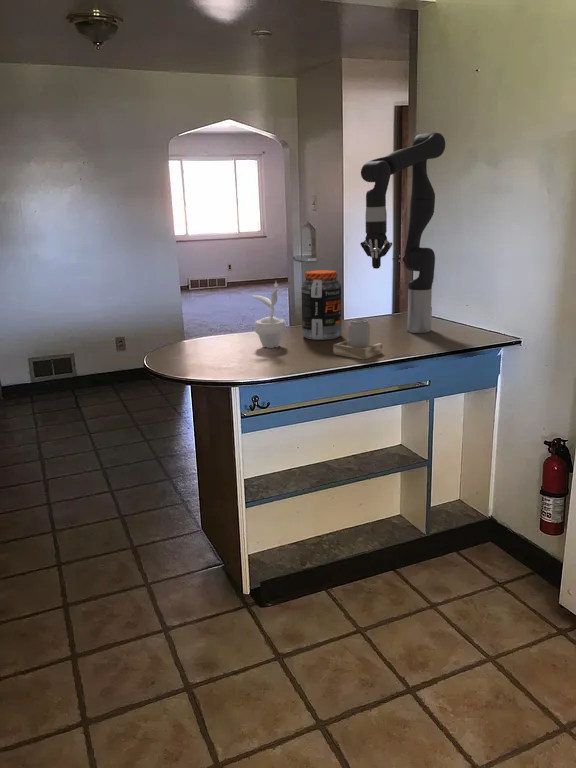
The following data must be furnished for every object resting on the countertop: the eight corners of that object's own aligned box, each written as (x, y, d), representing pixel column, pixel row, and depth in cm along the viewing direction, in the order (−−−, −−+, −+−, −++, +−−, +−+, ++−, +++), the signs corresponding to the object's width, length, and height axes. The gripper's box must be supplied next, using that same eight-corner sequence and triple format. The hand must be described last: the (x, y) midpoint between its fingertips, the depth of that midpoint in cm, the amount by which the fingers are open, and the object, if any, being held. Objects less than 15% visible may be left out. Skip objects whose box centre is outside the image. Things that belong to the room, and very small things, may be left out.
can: (368, 355, 222) (368, 322, 218) (346, 355, 224) (346, 321, 220) (370, 350, 229) (371, 318, 225) (350, 350, 231) (350, 317, 227)
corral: (351, 347, 234) (351, 338, 233) (381, 353, 225) (382, 343, 224) (333, 354, 226) (333, 344, 225) (364, 359, 217) (364, 349, 216)
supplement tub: (331, 342, 243) (329, 274, 236) (295, 339, 251) (293, 273, 243) (348, 333, 256) (347, 269, 249) (313, 330, 264) (312, 268, 256)
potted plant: (291, 343, 243) (289, 278, 236) (278, 351, 233) (275, 283, 226) (262, 341, 248) (259, 277, 241) (248, 348, 238) (244, 282, 231)
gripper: (397, 219, 226) (397, 267, 231) (366, 219, 234) (367, 266, 239) (385, 220, 220) (385, 270, 226) (354, 220, 229) (355, 268, 234)
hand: (376, 268), depth 233 cm, fingers closed
